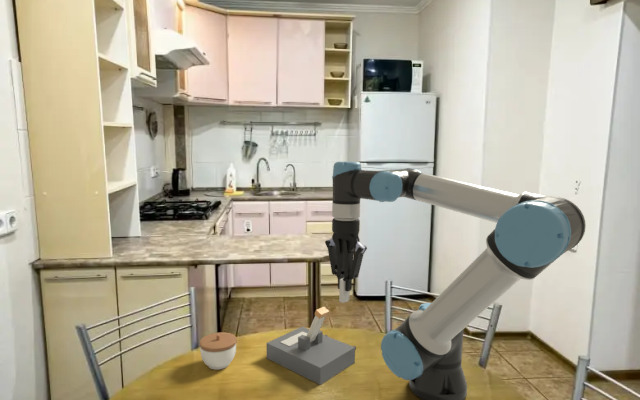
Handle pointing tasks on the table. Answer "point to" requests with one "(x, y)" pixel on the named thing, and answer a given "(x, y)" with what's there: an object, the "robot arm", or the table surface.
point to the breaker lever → (317, 323)
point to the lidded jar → (218, 349)
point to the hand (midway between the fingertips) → (344, 300)
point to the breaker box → (311, 354)
